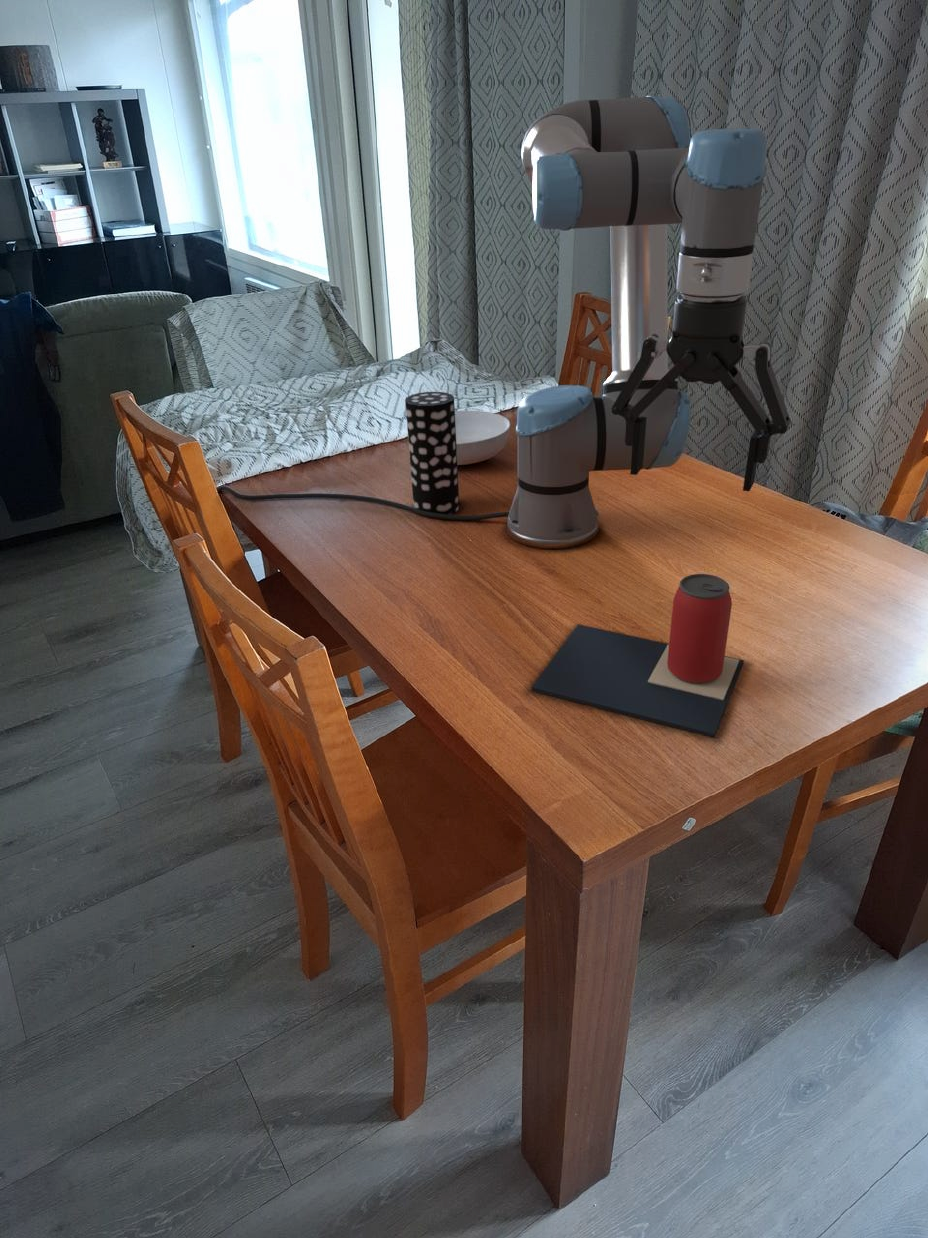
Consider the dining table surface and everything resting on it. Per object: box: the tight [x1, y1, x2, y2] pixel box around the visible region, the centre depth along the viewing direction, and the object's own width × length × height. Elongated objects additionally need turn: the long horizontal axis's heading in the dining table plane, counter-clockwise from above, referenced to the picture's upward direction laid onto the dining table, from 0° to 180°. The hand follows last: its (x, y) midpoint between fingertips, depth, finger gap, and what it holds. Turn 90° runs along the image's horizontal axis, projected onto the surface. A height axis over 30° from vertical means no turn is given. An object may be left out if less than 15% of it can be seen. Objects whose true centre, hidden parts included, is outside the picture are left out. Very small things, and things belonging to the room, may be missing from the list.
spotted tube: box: [404, 391, 460, 517], centre depth 145 cm, size 8×8×20 cm
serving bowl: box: [455, 410, 511, 466], centre depth 170 cm, size 21×21×7 cm
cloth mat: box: [530, 624, 745, 739], centre depth 102 cm, size 22×16×1 cm
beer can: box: [667, 573, 733, 683], centre depth 98 cm, size 7×7×12 cm
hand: (690, 478), depth 100 cm, fingers open, 13 cm apart
